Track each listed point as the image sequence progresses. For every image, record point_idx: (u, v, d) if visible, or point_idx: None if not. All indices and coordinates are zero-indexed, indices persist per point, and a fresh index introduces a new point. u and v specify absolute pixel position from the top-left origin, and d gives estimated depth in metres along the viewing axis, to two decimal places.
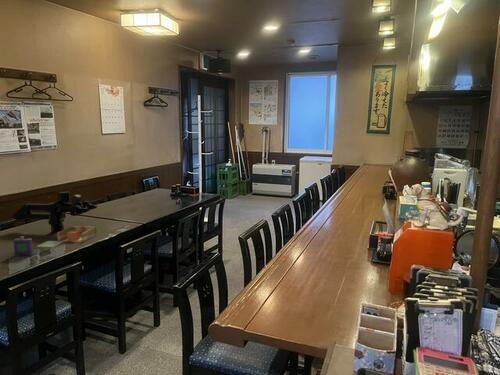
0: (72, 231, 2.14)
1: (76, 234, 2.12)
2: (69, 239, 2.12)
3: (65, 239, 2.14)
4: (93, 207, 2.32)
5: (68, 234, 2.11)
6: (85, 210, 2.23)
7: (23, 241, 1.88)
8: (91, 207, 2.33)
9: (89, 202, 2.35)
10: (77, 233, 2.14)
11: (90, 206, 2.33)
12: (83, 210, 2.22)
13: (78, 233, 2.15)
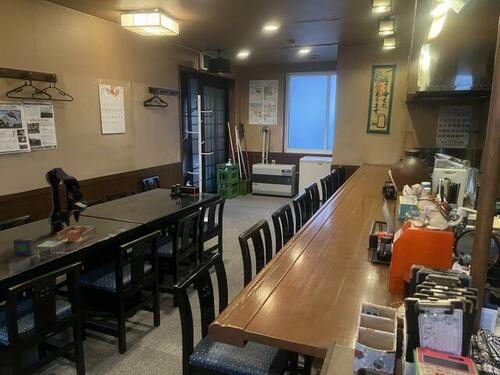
0: (72, 231, 2.14)
1: (76, 234, 2.12)
2: (69, 239, 2.12)
3: (65, 239, 2.14)
4: (76, 218, 2.17)
5: (68, 234, 2.11)
6: (67, 223, 2.07)
7: (23, 241, 1.88)
8: (75, 216, 2.17)
9: None
10: (77, 233, 2.14)
11: (76, 215, 2.17)
12: (66, 221, 2.07)
13: (78, 233, 2.15)
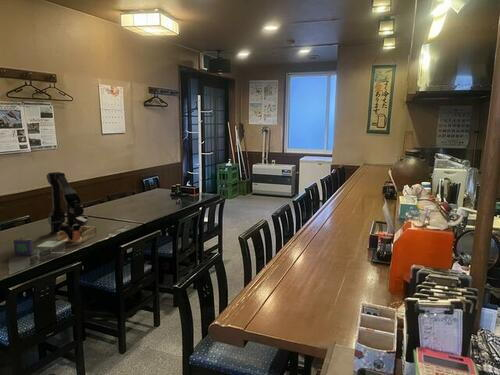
0: None
1: (76, 234, 2.13)
2: (69, 239, 2.12)
3: (65, 239, 2.14)
4: None
5: None
6: (70, 236, 2.10)
7: (23, 241, 1.88)
8: None
9: (81, 225, 2.19)
10: (77, 233, 2.14)
11: (76, 229, 2.16)
12: (69, 234, 2.10)
13: (78, 233, 2.15)
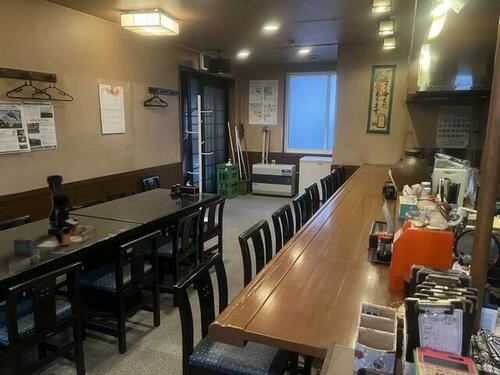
0: None
1: (66, 238, 2.02)
2: (58, 243, 2.01)
3: None
4: None
5: None
6: (59, 240, 2.00)
7: (23, 241, 1.88)
8: None
9: (71, 228, 2.08)
10: (67, 237, 2.03)
11: (66, 233, 2.06)
12: (59, 238, 2.00)
13: (68, 236, 2.04)
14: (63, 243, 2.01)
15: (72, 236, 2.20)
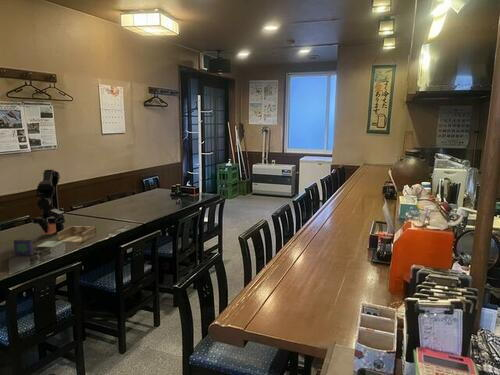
0: None
1: (51, 227, 2.03)
2: (44, 232, 2.03)
3: (65, 239, 2.14)
4: None
5: None
6: (44, 229, 2.01)
7: (23, 241, 1.88)
8: None
9: None
10: (53, 226, 2.04)
11: (52, 222, 2.07)
12: (44, 227, 2.01)
13: (54, 226, 2.05)
14: (48, 232, 2.03)
15: (72, 236, 2.20)
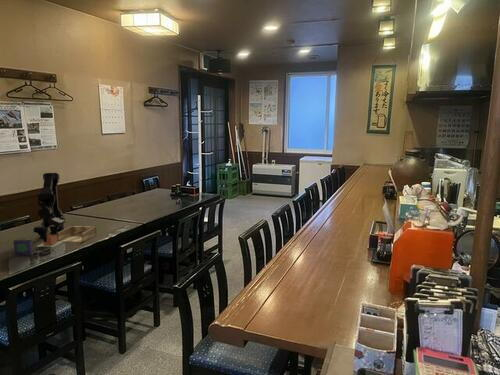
0: (48, 235, 2.06)
1: (52, 238, 2.04)
2: (45, 243, 2.04)
3: (65, 239, 2.14)
4: None
5: None
6: (44, 239, 2.01)
7: (23, 241, 1.88)
8: (53, 231, 2.09)
9: None
10: (53, 237, 2.05)
11: (54, 230, 2.09)
12: (43, 237, 2.00)
13: (55, 237, 2.06)
14: (49, 243, 2.04)
15: (72, 236, 2.20)
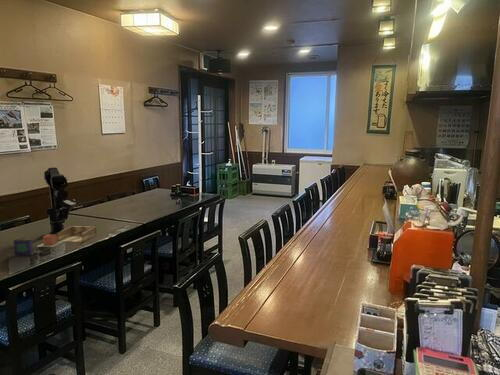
0: (48, 235, 2.06)
1: (52, 238, 2.04)
2: (45, 243, 2.04)
3: (65, 239, 2.14)
4: (65, 216, 2.19)
5: (44, 238, 2.03)
6: (55, 220, 2.09)
7: (23, 241, 1.88)
8: (65, 213, 2.19)
9: None
10: (53, 237, 2.05)
11: (66, 212, 2.19)
12: (54, 218, 2.09)
13: (55, 237, 2.06)
14: (49, 243, 2.04)
15: (72, 236, 2.20)
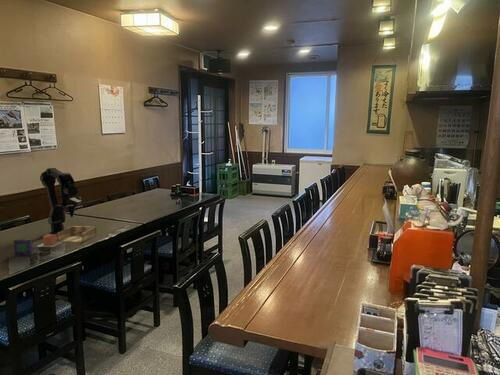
0: (48, 235, 2.06)
1: (52, 238, 2.04)
2: (45, 243, 2.04)
3: (65, 239, 2.14)
4: (70, 213, 2.24)
5: (44, 238, 2.03)
6: (62, 217, 2.14)
7: (23, 241, 1.88)
8: (70, 211, 2.24)
9: None
10: (53, 237, 2.05)
11: (71, 210, 2.23)
12: (61, 215, 2.13)
13: (55, 237, 2.06)
14: (49, 243, 2.04)
15: (72, 236, 2.20)
